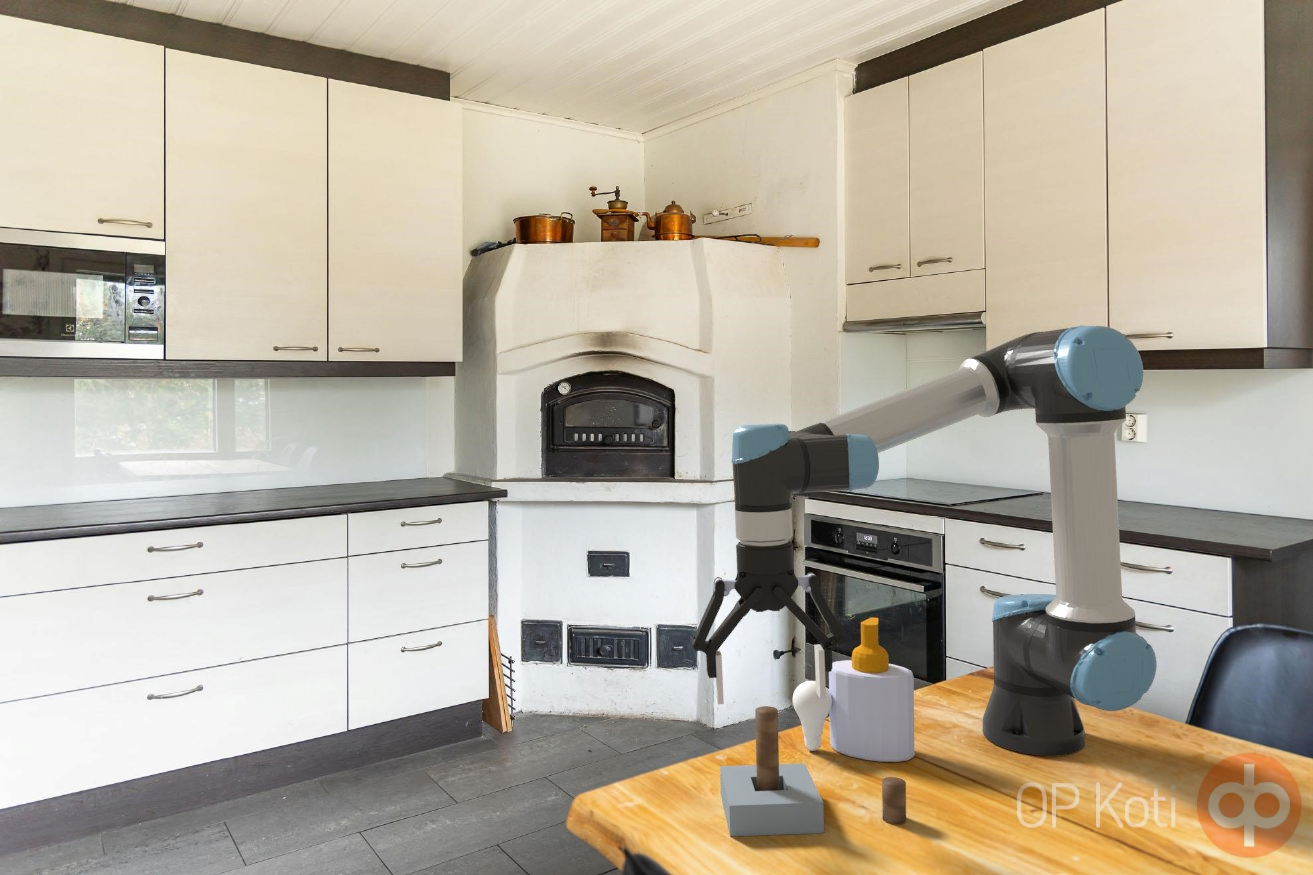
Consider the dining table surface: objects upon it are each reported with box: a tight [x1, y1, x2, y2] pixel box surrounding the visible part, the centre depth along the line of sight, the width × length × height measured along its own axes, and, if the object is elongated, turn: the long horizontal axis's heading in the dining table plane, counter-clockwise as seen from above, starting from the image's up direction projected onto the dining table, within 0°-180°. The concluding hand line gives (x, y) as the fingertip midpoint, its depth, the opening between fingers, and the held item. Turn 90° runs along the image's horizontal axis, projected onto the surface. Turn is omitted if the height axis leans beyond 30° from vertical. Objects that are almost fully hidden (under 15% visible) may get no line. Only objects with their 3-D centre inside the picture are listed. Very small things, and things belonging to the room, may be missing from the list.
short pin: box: [881, 776, 907, 826], centre depth 114 cm, size 3×3×5 cm
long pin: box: [754, 705, 780, 791], centre depth 117 cm, size 3×3×14 cm
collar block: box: [719, 762, 825, 837], centre depth 117 cm, size 12×12×4 cm
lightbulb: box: [792, 680, 832, 752], centre depth 137 cm, size 6×6×11 cm
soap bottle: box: [828, 617, 915, 763], centre depth 136 cm, size 13×8×20 cm, turn 63°
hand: (770, 698), depth 116 cm, fingers open, 13 cm apart
